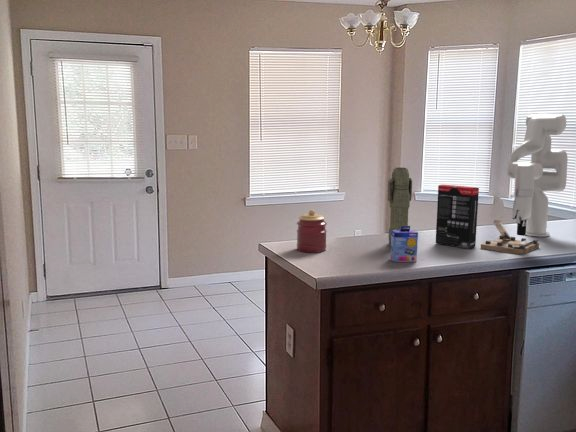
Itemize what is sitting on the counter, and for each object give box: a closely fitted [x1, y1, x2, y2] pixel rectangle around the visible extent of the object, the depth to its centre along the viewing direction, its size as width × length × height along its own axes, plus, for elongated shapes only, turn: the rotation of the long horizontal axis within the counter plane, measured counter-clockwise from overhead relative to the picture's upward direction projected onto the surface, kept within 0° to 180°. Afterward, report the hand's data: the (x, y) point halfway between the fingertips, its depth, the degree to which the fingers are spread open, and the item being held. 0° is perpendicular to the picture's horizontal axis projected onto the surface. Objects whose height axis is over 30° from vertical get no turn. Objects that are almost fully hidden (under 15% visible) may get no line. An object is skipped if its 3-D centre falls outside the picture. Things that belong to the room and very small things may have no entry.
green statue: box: [387, 167, 413, 246], centre depth 254 cm, size 9×12×35 cm
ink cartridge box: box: [389, 225, 419, 263], centre depth 226 cm, size 10×6×14 cm, turn 95°
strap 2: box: [512, 239, 533, 247], centre depth 247 cm, size 16×3×1 cm, turn 137°
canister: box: [296, 209, 328, 253], centre depth 245 cm, size 13×13×18 cm
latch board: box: [480, 234, 540, 256], centre depth 250 cm, size 20×18×4 cm
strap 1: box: [493, 219, 512, 240], centre depth 254 cm, size 16×3×1 cm
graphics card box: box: [435, 184, 480, 250], centre depth 253 cm, size 17×7×27 cm, turn 47°
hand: (521, 234), depth 244 cm, fingers closed
